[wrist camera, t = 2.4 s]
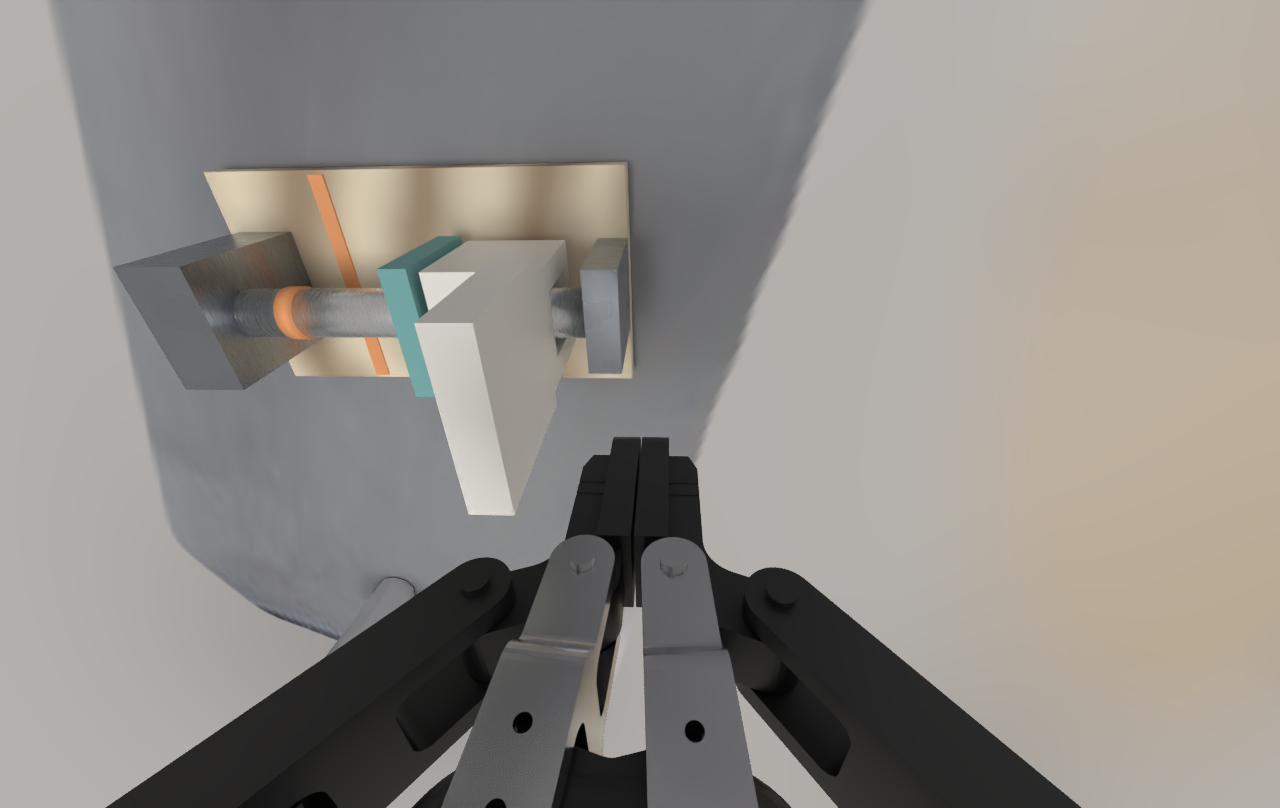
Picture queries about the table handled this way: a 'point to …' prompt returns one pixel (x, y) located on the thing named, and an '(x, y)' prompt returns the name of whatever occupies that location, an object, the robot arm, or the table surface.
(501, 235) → the pipe stand
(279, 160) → the table surface
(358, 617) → the milkshake
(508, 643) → the robot arm
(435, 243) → the thin teal tile
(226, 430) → the table surface
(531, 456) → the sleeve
